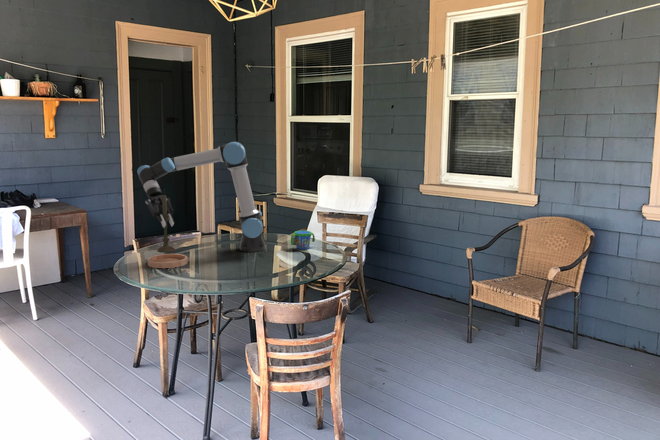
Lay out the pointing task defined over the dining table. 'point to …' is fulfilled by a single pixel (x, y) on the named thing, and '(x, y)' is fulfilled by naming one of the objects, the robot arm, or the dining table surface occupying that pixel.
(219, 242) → the dining table surface
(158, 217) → the robot arm
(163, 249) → the candlestick holder
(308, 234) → the snack cup
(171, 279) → the dining table surface
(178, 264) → the saucer
